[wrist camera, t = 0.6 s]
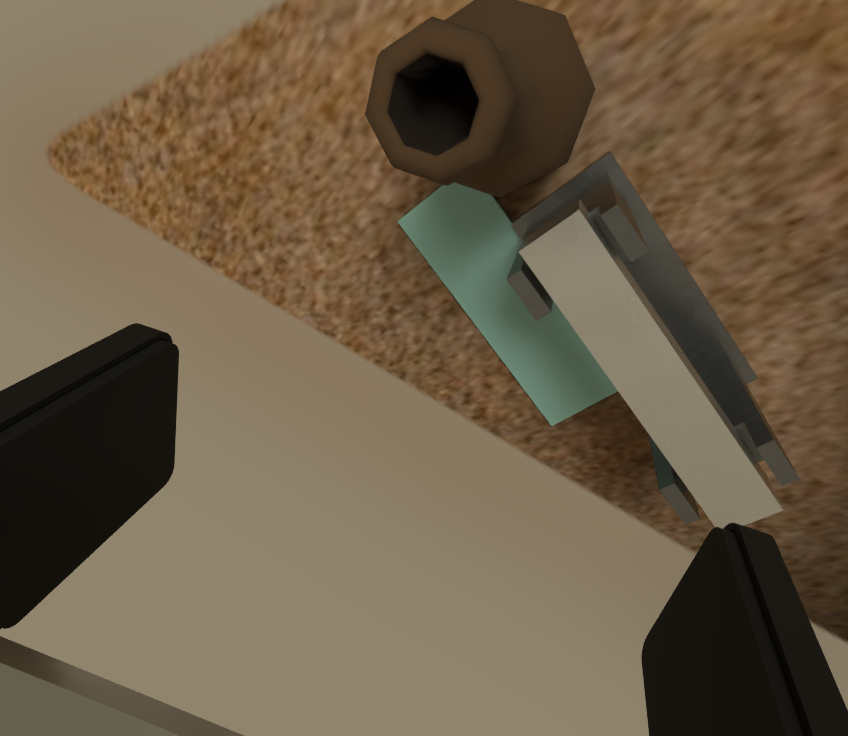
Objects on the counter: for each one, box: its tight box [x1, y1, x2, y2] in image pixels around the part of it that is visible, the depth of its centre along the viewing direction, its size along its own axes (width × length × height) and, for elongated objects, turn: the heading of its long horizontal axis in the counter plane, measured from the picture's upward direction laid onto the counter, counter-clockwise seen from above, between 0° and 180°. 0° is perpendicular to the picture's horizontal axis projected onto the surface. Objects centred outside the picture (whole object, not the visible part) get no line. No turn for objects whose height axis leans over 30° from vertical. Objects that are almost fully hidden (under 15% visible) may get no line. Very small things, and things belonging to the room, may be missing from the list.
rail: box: [519, 198, 783, 529], centre depth 28 cm, size 3×17×3 cm, turn 39°
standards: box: [506, 151, 799, 525], centre depth 33 cm, size 7×17×12 cm, turn 39°
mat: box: [398, 183, 618, 426], centre depth 40 cm, size 6×18×1 cm, turn 39°
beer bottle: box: [365, 0, 595, 198], centre depth 24 cm, size 8×8×24 cm
